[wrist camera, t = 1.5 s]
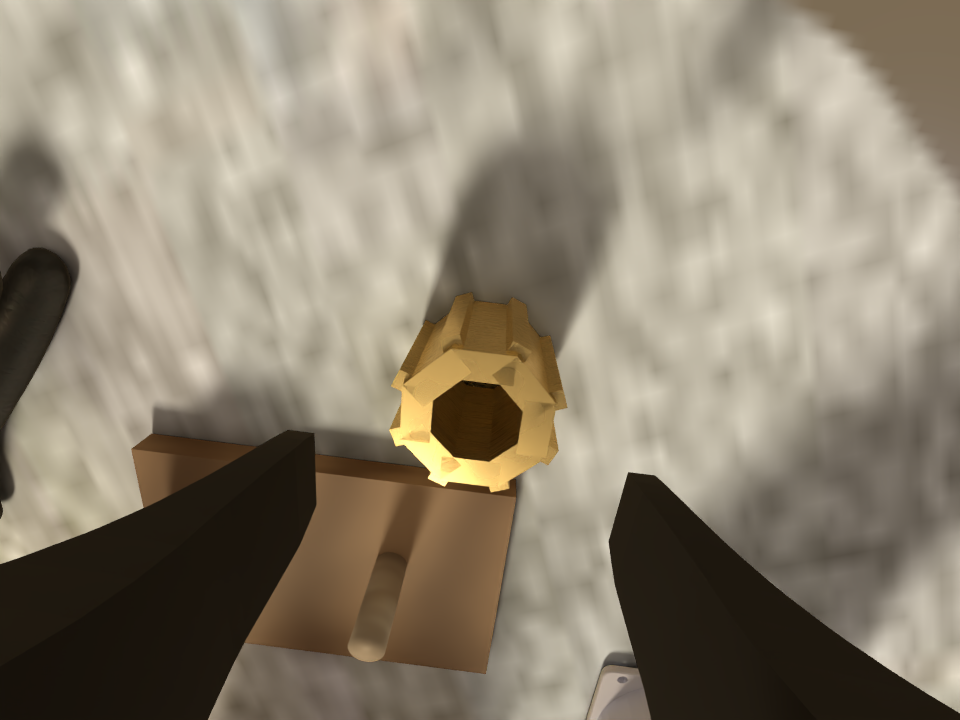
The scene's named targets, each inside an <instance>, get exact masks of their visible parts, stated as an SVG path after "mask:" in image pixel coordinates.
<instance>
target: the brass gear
mask: <svg viewBox="0 0 960 720" xmlns="http://www.w3.org/2000/svg"><path fill="white" fill-rule="evenodd" d="M463 380H466V381H475V382H483V383H491V384H499V386H497V387H496V388H494V389H492V388H484V387H476V386H467V385H466V383H465V382H464V381H463ZM391 386H392V387H394V388H396V389H398V390H400V391H402V402H401V405H400V407H399V409H398V411H397V414H396V416H395V418H394V420H393V423H392V425H391V427H390V429H389V430H390V432H391V435H392V437H393V440H394V442H395V445H396V446H399V445H405V446H406V447H407V448H408V449H409V450H410V451H411V452H412V453H413V454H414V455H415V456H416V457H417V458H418V459H419V460H420V461H421V462H422V463H423V464H424V465H425V466H426V467H427V468H428V469H429V470H430V471H429V475H428V479H430V480H432V481H434V482H436V483H439V484H441V485H443V486H445V485H446V484H447V482H448V481H449V482H457V483H465V484H472V485H480V486H488V487H489V488H490V491H491V492H495V491H500V490H505V489H509V480H511V479H513V478H514V477H516V476H518V475H519V474H521V473H522V472H524V471H526V470H527V469H529V468H531V467H532V466H534V465H536V464H537V463H539V462H540V461H541V462H543V463H545V464H547V465H548V464H549V463H550V462H551V460H552V459H553V458H554V456H555V455H556V454H557V452H558V451H559V450H558V444H557V439H556V433H555V427H554V421H553V420H554V415H555V410H560V409H564V408H567V404H566V399H565V395H564V391H563V387H562V383H561V379H560V374H559V370H558V366H557V362H556V358H555V354H554V349H553V345H552V341H551V337H550V335H549V336H545V337H540V336H539V335H538V334H537V332H536V331H535V330H534V329H533V327H532V326H531V325H530V323H529V322H528V315H527V306H526V304H524V303H522V302H520V301H518V300H517V299H515V298H513V297H512V298H511V300H510V301H509V303H508V305H506V304H498V303H490V302H481V301H474V298H473V294H472V292H470V293H467V294H463V295H459V296H456V298H455V300H454V303H453V305H452V308H451V311H450V313H449V314H447V315H446V316H445V317H444V318H442V319H441V320H440V321H438V322H437V323H436V324H435V325H434V324H433V323H431V322H429V321H427V320H426V321H425V323H424V325H423V327H422V328H421V330H420V332H419V334H418V336H417V338H416V340H415V342H414V344H413V345H412V347H411V349H410V351H409V353H408V355H407V357H406V359H405V361H404V362H403V364H402V366H401V368H400V370H399V372H398V374H397V376H396V378H395V379H394V381H393V383H392V385H391Z"/></svg>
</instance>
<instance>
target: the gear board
mask: <svg viewBox="0 0 960 720" xmlns="http://www.w3.org/2000/svg"><path fill="white" fill-rule="evenodd" d="M255 448H256V447H254V446H246V445H238V444H230V443H222V442H214V441H206V440H198V439H190V438H182V437H174V436H166V435H158V434H151V435H149V436H148V437H147V438H145V439H144V440H143V441H141V442H140V443H139V444H137V445H136V446H135V447H133V448H132V449H131V450H132V455H133V459H134V464H135V469H136V474H137V478H138V483H139V488H140V492H141V497H142V502H143V507H144V508H145V507H147V506H149V505H151V504H153V503H155V502H157V501H160V500H162V499H163V498H165V497H167V496H169V495H171V494H173V493H175V492H177V491H179V490H181V489H183V488H185V487H186V486H188V485H190V484H192V483H194V482H196V481H198V480H200V479H202V478H204V477H206V476H208V475H209V474H211V473H213V472H215V471H216V470H218V469H220V468H222V467H223V466H225V465H227V464H229V463H230V462H232V461H234V460H236V459H237V458H239V457H241V456H243V455H244V454H246V453H248V452H250V451H251V450H253V449H255ZM315 469H316V499H317V505H316V508H315V510H314V513H313V515H312V518H311V520H310V523H309V525H308V528H307V530H306V532H305V535H304V537H303V539H302V542H301V544H300V546H299V548H298V550H297V551H296V553H295V555H294V557H293V559H292V560H291V562H290V564H289V566H288V567H287V569H286V571H285V573H284V574H283V576H282V578H281V580H280V581H279V583H278V585H277V587H276V588H275V590H274V592H273V594H272V595H271V597H270V599H269V600H268V602H267V604H266V606H265V607H264V609H263V611H262V613H261V614H260V616H259V618H258V620H257V621H256V623H255V625H254V627H253V628H252V630H251V632H250V633H249V635H248V637H247V639H246V641H245V642H244V643H251V644H259V645H266V646H274V647H282V648H289V649H297V650H305V651H313V652H320V653H328V654H336V655H343V656H351V657H355V658H357V659H359V660H361V661H366V662H374V661H377V660H382V661H390V662H397V663H405V664H413V665H420V666H428V667H436V668H444V669H451V670H459V671H467V672H474V673H482V674H486V670H487V664H488V658H489V652H490V646H491V641H492V635H493V629H494V623H495V618H496V612H497V606H498V600H499V594H500V589H501V583H502V577H503V571H504V565H505V560H506V554H507V548H508V542H509V537H510V531H511V525H512V519H513V513H514V508H515V502H516V479H511V480H509V489H505V490H500V491H495V492H491V491H490V488H489V487H488V486H480V485H472V484H465V483H457V482H449V481H448V482H447V484H446V485H445V486H443V485H441V484H439V483H436V482H434V481H432V480H430V479H428V475H429V471H430V470H429V469H428V468H421V467H413V466H405V465H397V464H389V463H381V462H373V461H365V460H357V459H349V458H341V457H333V456H325V455H317V454H315Z"/></svg>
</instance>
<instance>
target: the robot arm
mask: <svg viewBox="0 0 960 720" xmlns="http://www.w3.org/2000/svg"><path fill="white" fill-rule="evenodd" d="M316 505H317V499H316V469H315V439H314V433H308V432H300V431H292V430H287V431H285V432H283V433H281V434H279V435H277V436H276V437H274V438H272V439H270V440H269V441H267V442H265V443H263V444H262V445H260V446H258V447H256V448H255V449H253V450H251V451H250V452H248V453H246V454H244V455H243V456H241V457H239V458H237V459H236V460H234V461H232V462H230V463H229V464H227V465H225V466H223V467H222V468H220V469H218V470H216V471H215V472H213V473H211V474H209V475H208V476H206V477H204V478H202V479H200V480H198V481H196V482H194V483H192V484H190V485H188V486H186V487H185V488H183V489H181V490H179V491H177V492H175V493H173V494H171V495H169V496H167V497H165V498H163V499H162V500H160V501H157V502H155V503H153V504H151V505H149V506H147V507H145V508H143V509H141V510H138V511H136V512H134V513H132V514H130V515H127V516H125V517H123V518H120V519H118V520H116V521H114V522H111V523H109V524H107V525H104V526H102V527H100V528H97V529H95V530H92V531H90V532H87V533H85V534H82V535H80V536H77V537H74V538H72V539H69V540H66V541H64V542H61V543H58V544H55V545H53V546H50V547H47V548H45V549H42V550H39V551H37V552H34V553H31V554H29V555H26V556H23V557H21V558H18V559H15V560H12V561H9V562H6V563H3V564H0V720H208V718H209V716H210V713H211V711H212V709H213V707H214V705H215V703H216V700H217V698H218V696H219V694H220V692H221V689H222V687H223V685H224V683H225V681H226V679H227V676H228V674H229V672H230V670H231V668H232V666H233V663H234V661H235V660H236V658H237V656H238V654H239V652H240V650H241V648H242V646H243V644H244V642H245V641H246V639H247V637H248V635H249V633H250V632H251V630H252V628H253V627H254V625H255V623H256V621H257V620H258V618H259V616H260V614H261V613H262V611H263V609H264V607H265V606H266V604H267V602H268V600H269V599H270V597H271V595H272V594H273V592H274V590H275V588H276V587H277V585H278V583H279V581H280V580H281V578H282V576H283V574H284V573H285V571H286V569H287V567H288V566H289V564H290V562H291V560H292V559H293V557H294V555H295V553H296V551H297V550H298V548H299V546H300V544H301V542H302V539H303V537H304V535H305V532H306V530H307V528H308V525H309V523H310V520H311V518H312V515H313V513H314V510H315V508H316ZM609 548H610V555H611V563H612V569H613V576H614V582H615V587H616V591H617V594H618V598H619V602H620V605H621V609H622V613H623V616H624V620H625V624H626V627H627V631H628V634H629V638H630V641H631V645H632V649H633V652H634V656H635V659H636V663H637V666H638V668H631V667H624V666H616V665H608V666H606V667H604V668H603V669H602V671H601V674H600V678H599V681H598V684H597V687H596V690H595V693H594V697H593V700H592V703H591V706H590V709H589V712H588V715H587V719H586V720H960V713H958V712H957V711H955V710H953V709H952V708H950V707H948V706H947V705H945V704H943V703H942V702H940V701H938V700H937V699H935V698H933V697H932V696H930V695H928V694H927V693H925V692H924V691H922V690H920V689H919V688H917V687H916V686H914V685H913V684H911V683H909V682H908V681H906V680H905V679H903V678H902V677H900V676H898V675H897V674H895V673H894V672H892V671H891V670H889V669H888V668H886V667H885V666H883V665H882V664H880V663H879V662H877V661H876V660H874V659H873V658H872V657H870V656H869V655H867V654H866V653H864V652H863V651H861V650H860V649H858V648H857V647H855V646H854V645H852V644H851V643H849V642H848V641H847V640H845V639H844V638H842V637H841V636H840V635H838V634H837V633H835V632H834V631H833V630H831V629H830V628H828V627H827V626H826V625H824V624H823V623H822V622H820V621H819V620H818V619H816V618H815V617H814V616H812V615H811V614H810V613H809V612H807V611H806V610H805V609H803V608H802V607H801V606H799V605H798V604H797V603H795V602H794V601H793V600H792V599H790V598H789V597H788V596H786V595H785V594H784V593H783V592H781V591H780V590H779V589H778V588H777V587H775V586H774V585H773V584H772V583H770V582H769V581H768V580H767V579H766V578H765V577H763V576H762V575H761V574H760V573H759V572H758V571H756V570H755V569H754V568H753V567H752V566H751V565H750V564H748V563H747V562H746V561H745V560H744V559H743V558H741V557H740V556H739V555H738V554H737V553H736V552H735V551H734V550H733V549H732V548H730V547H729V546H728V545H727V544H726V543H725V542H724V541H723V540H722V539H721V538H720V537H719V536H718V535H717V534H715V533H714V532H713V531H712V530H711V529H710V528H709V527H708V526H707V525H706V524H705V523H704V522H703V521H702V520H701V519H700V518H699V517H698V516H697V515H696V514H695V513H694V512H693V511H692V510H691V509H690V508H689V507H688V506H687V505H686V504H685V503H684V502H683V501H682V500H680V499H679V498H678V497H677V496H676V495H675V494H674V493H673V492H672V491H671V490H670V489H669V488H668V487H667V486H666V485H665V484H664V483H663V482H662V481H661V480H660V479H658V478H657V477H656V476H654V475H646V474H638V473H630V472H628V475H627V478H626V482H625V485H624V489H623V492H622V496H621V500H620V503H619V507H618V510H617V514H616V517H615V521H614V524H613V528H612V532H611V535H610V539H609Z"/></svg>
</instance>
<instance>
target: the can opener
mask: <svg viewBox="0 0 960 720" xmlns="http://www.w3.org/2000/svg"><path fill="white" fill-rule="evenodd" d="M70 285H71V280H70V274H69V272H68V269H67V267H66V265H65V264H64V262H63V261H62V260H61V259H60V258H59V257H58V256H57V255H56V254H55V253H53V252H52V251H50V250H47V249H44V248H32V249H29V250H28V251H26V252H25V253H23V254H22V255H20V256H19V257H18V258H17V259H16V261H15V262H14V263H13V264H12V265H11V267H10V268H9V270H8V271H7V273H6V275H5V276H4V278H3V280H2V276H1V272H0V430H1V428H2V427H3V425H4V424H5V422H6V420H7V419H8V417H9V415H10V414H11V412H12V411H13V409H14V407H15V406H16V404H17V402H18V401H19V399H20V397H21V396H22V394H23V393H24V391H25V389H26V387H27V385H28V384H29V382H30V381H31V379H32V377H33V375H34V373H35V372H36V370H37V368H38V366H39V364H40V362H41V360H42V358H43V356H44V354H45V352H46V350H47V348H48V346H49V344H50V341H51V339H52V337H53V335H54V332H55V330H56V327H57V325H58V323H59V320H60V317H61V315H62V312H63V309H64V306H65V303H66V300H67V298H68V294H69V290H70ZM2 513H3V508H2V504H1V501H0V519H1V517H2Z"/></svg>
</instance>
